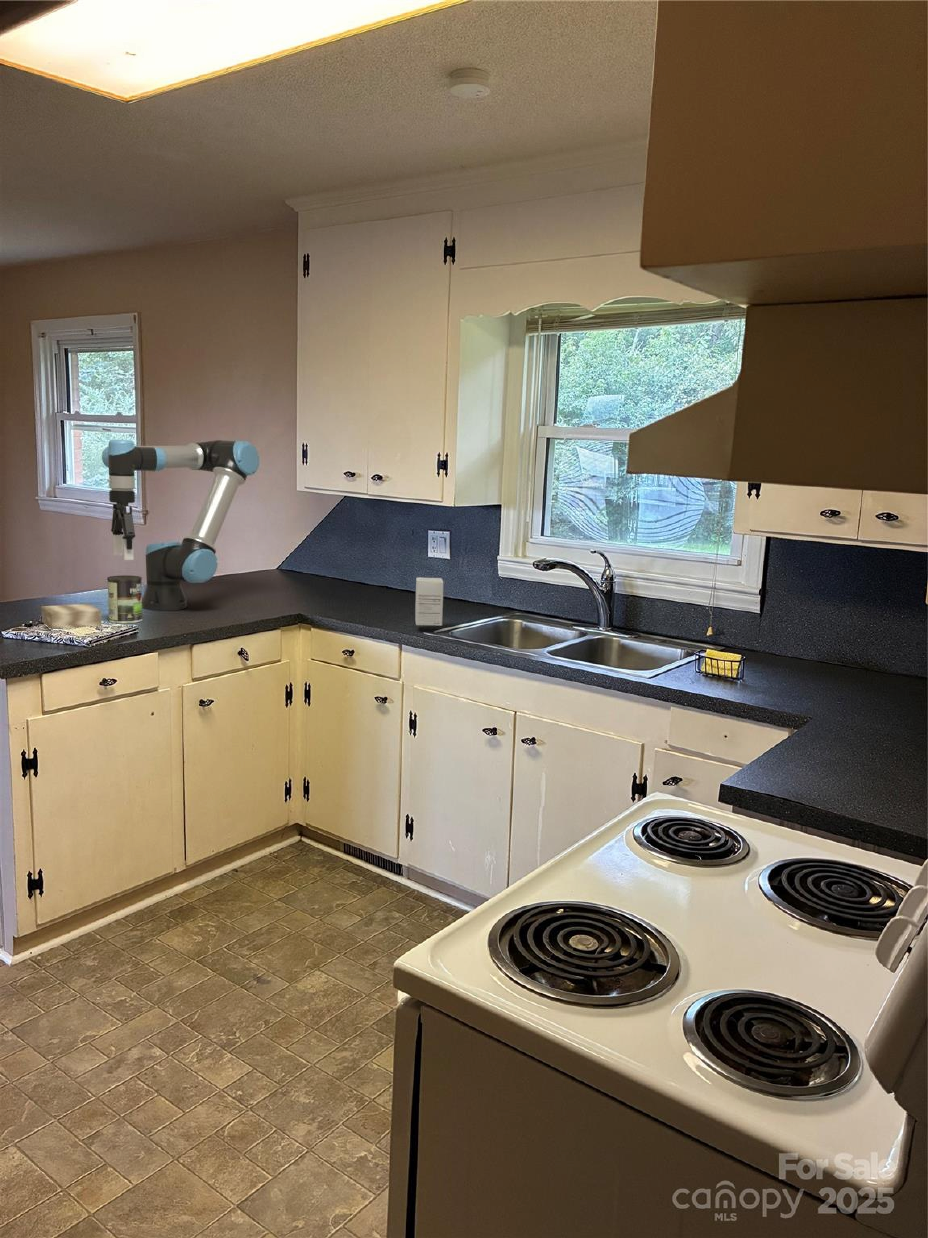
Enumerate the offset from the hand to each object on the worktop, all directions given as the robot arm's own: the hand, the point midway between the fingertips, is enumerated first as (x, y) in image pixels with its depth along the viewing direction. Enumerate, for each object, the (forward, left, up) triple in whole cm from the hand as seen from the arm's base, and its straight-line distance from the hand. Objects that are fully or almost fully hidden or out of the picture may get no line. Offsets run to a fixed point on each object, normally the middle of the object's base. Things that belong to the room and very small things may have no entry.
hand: (123, 557), depth 296 cm
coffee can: (0, 0, -21) cm, 21 cm away
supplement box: (-89, +40, -21) cm, 100 cm away
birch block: (+17, +4, -21) cm, 27 cm away
